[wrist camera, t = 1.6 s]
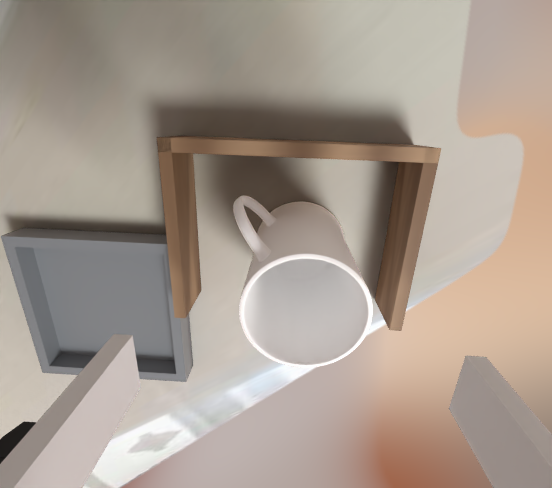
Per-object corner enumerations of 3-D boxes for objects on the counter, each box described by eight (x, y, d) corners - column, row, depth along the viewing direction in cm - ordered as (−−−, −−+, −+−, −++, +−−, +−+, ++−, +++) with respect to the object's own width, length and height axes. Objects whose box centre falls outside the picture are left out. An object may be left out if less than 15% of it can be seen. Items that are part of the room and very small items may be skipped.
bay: (191, 289, 32) (174, 317, 27) (180, 135, 26) (156, 137, 22) (384, 300, 31) (401, 330, 26) (414, 144, 26) (441, 148, 21)
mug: (218, 203, 28) (170, 252, 17) (296, 151, 26) (300, 168, 15) (286, 297, 32) (283, 390, 20) (360, 257, 30) (402, 335, 18)
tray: (58, 356, 36) (42, 372, 34) (23, 227, 30) (0, 236, 28) (193, 365, 35) (186, 381, 33) (182, 235, 30) (173, 244, 27)
